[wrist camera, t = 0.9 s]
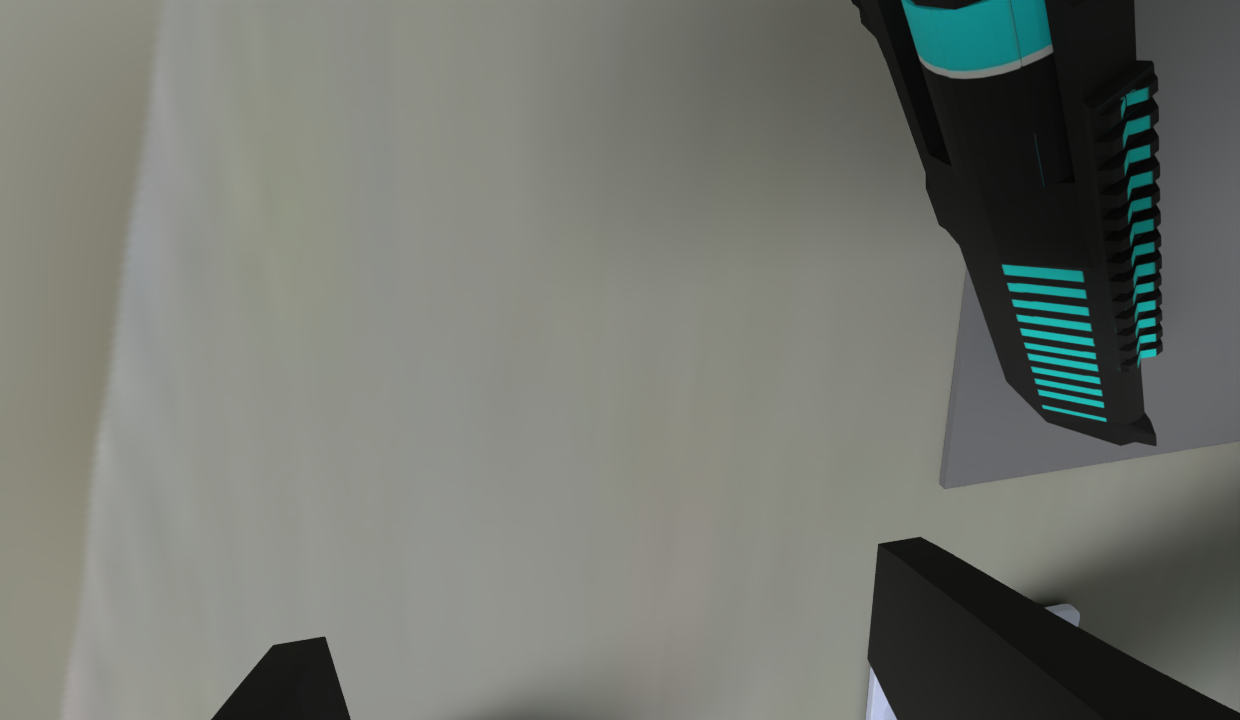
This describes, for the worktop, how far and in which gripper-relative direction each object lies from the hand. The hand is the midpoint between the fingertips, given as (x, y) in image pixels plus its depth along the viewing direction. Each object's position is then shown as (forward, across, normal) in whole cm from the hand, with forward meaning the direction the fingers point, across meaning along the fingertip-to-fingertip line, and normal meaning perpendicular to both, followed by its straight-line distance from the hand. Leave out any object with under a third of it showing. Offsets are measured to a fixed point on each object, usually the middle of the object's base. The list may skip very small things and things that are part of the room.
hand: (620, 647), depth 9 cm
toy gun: (+10, -9, -6) cm, 15 cm away
